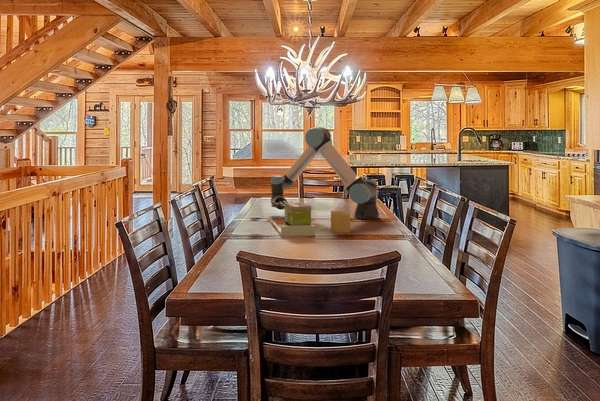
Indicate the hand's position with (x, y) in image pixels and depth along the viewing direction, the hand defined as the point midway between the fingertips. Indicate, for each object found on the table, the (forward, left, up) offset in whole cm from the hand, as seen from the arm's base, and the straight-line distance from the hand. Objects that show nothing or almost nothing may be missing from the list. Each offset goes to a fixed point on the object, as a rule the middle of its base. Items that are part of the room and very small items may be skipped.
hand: (286, 207), depth 289 cm
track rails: (0, +3, -9) cm, 10 cm away
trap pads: (0, -9, -9) cm, 13 cm away
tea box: (-1, +26, -10) cm, 28 cm away
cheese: (-24, +26, -10) cm, 36 cm away
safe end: (0, +28, -9) cm, 30 cm away
